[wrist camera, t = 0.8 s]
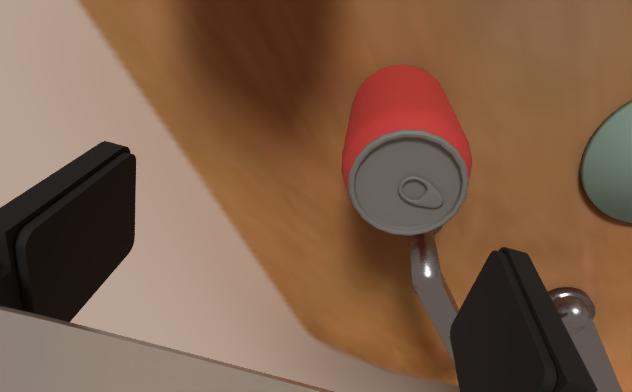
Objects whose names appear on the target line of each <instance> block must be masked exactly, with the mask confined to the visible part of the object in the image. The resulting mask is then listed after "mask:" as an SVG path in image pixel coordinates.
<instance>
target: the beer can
mask: <svg viewBox="0 0 632 392" xmlns="http://www.w3.org/2000/svg"><path fill="white" fill-rule="evenodd" d="M471 167H472V158H471V153H470V147H469V142H468V140H467V138H466V136H465V134H464V132H463V130H462V128H461V126H460V123H459V121H458V119H457V117H456V115H455V113H454V111H453V109H452V107H451V105H450V103H449V100H448V98H447V96H446V94H445V92H444V91H443V89H442V87H441V86H440V84H439V82H438V81H437V80H436V79H435V78H434V77H433V76H431V75H430V74H429V73H428V72H427V71H425V70H422V69H419V68H416V67H414V66H406V65H394V66H391V67H388V68H384V69H381V70H379V71H378V72H376V73H375V74H373V75H372V76H370V77H369V78H367V79H366V81H365V82H364V83H363V84H362V86H361V87H360V88H359V89H358V91H357V94H356V96H355V99H354V102H353V104H352V109H351V114H350V119H349V124H348V129H347V133H346V138H345V143H344V148H343V153H342V176H343V179H344V182H345V185H346V188H347V191H348V194H349V196H350V198H351V201H352V204H353V207H354V208H355V209H356V211H357V212H358V213H359V215H360V216H361V217H362V219H363V220H365V221H366V222H368V223H369V224H370V225H372V226H373V227H375V228H376V229H378V230H381V231H384V232H387V233H390V234H393V235H406V236H412V235H417V234H423V233H428V232H430V231H432V230H434V229H436V228H438V227H441V226H443V225H444V224H446V223H447V222H448V221H449V220H450V219H451V218H452V217H453V216H454V215H456V214H457V213H458V211H459V209H460V207H461V206H462V204H463V202H464V201H465V199H466V195H467V190H468V185H469V178H470V173H471Z"/></svg>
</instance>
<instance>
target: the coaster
mask: <svg viewBox="0 0 632 392" xmlns="http://www.w3.org/2000/svg"><path fill="white" fill-rule="evenodd" d="M580 175H581V182H582V185H583V188H584V190H585V192H586V194H587V196H588V197H589V199H590V200H591V201H592V202H593V203H594V205H595V206H596V207H597V208H599V209H600V210H601V211H602V212H604V213H605V214H607V215H609V216H611V217H612V218H615V219H618V220H621V221H624V222H629V223H632V100H631V101H630V102H628V103H626V104H625V105H623V106H622V107H620V108H619V109H617V110H616V111H615V112H614V113H612V114H611V115H610V116H609V117H608V118H607V119H606V120H605V121H603V123H602V124H601V125H600V126H599V127H598V128H597V129H596V131H595V132H594V134H593V135H592V137H591V138H590V140H589V142H588V144H587V146H586V148H585V150H584V153H583V156H582V160H581V168H580Z"/></svg>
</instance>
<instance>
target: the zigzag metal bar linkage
mask: <svg viewBox="0 0 632 392" xmlns="http://www.w3.org/2000/svg"><path fill="white" fill-rule="evenodd" d="M441 227H442V226H441ZM441 227H438V228H436V229H434V230H432V231H430V232H428V233H423V234H417V235H412V236H408V242H409V252H410V263H411V273H412V284H413V289H414V290H415V292H416V293H418V295H419V297H420V299H421V301H422V303H423V305H424V307H425V309H426V310H427V312H428V314H429V316H430V318H431V320H432V322H433V324H434V326H435V328H436V330H437V332H438V334H439V335H440V337H441V339H442V341H443V343H444V345H445V347H446V349H447V351H448V353H449V355H450V357H451V359H452V360H453V362H454V356H453V351H452V346H451V341H450V329H451V325H452V323H453V321H454V319H455V318H456V316H457V314H458V312H459V309H458V306H457V304H456V302H455V300H454V298H453V296H452V294H451V292H450V290H449V288H448V286H447V284H446V281H445V279H444V277H443V275H442V273H441V270H440V265H439V259H438V254H437V249H436V244H435V238H434V233H435V232H437V231H438V230H439V229H440V228H441ZM405 236H406V235H405ZM548 294H549V296H550V298H551V300H552V302H553V304H554V306H555V308H556V310H557V312H558V314H559V315H560V317H561V319H562V321H563V323H564V325H565V327H566V329H567V331H568V333H569V335H570V337H571V339H572V341H573V343H574V345H575V347H576V349H577V350H578V352H579V354H580V356H581V358H582V360H583V362H584V364H585V366H586V368H587V370H588V372H589V374H590V376H591V378H592V380H593V382H594V384H595V386H596V387H597V389H598V391H597V392H623V391H622V389H621V388H620V385H619V383H618V380H617V378H616V376H615V373H614V371H613V368H612V366H611V363H610V361H609V359H608V356H607V354H606V351H605V349H604V347H603V344H602V342H601V339H600V337H599V334H598V332H597V330H596V327H595V325H594V322H593V318H594V315H595V307H594V305H593V303H592V301H591V300H590V298H589V296H588V295H587V294H586V293H585V292H583V291H581V290H579V289H576V288H570V287H564V288H557V289H554V290H551V291H549V292H548ZM454 364H455V362H454Z"/></svg>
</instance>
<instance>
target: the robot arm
mask: <svg viewBox="0 0 632 392" xmlns="http://www.w3.org/2000/svg"><path fill="white" fill-rule="evenodd" d="M135 184H136V158H135V155H133V154H130V150H129V148H128V147H125V146H121V145H118V144H114V143H110V142H106V141H104V142H102V143H100V144H98V145H97V146H95V147H93V148H92V149H90V150H89V151H87V152H86V153H84V154H83V155H81V156H80V157H78V158H77V159H75V160H73V161H72V162H70V163H69V164H67V165H66V166H64V167H63V168H61V169H60V170H58V171H57V172H55V173H53V174H52V175H50V176H49V177H47V178H46V179H44V180H43V181H41V182H40V183H38V184H36V185H35V186H33V187H32V188H30V189H29V190H27V191H26V192H24V193H23V194H21V195H20V196H18V197H16V198H15V199H13V200H12V201H10V202H9V203H7V204H6V205H4V206H2V207H1V208H0V392H333V391H329V390H325V389H322V388H318V387H314V386H311V385H307V384H303V383H300V382H295V381H292V380H288V379H285V378H281V377H277V376H273V375H269V374H266V373H262V372H258V371H254V370H251V369H247V368H243V367H239V366H236V365H232V364H228V363H224V362H220V361H217V360H213V359H209V358H205V357H202V356H198V355H194V354H190V353H186V352H182V351H179V350H175V349H171V348H167V347H163V346H159V345H155V344H151V343H148V342H144V341H140V340H136V339H132V338H129V337H124V336H121V335H117V334H113V333H109V332H105V331H102V330H98V329H94V328H90V327H86V326H82V325H78V324H74V323H70V321H71V320H72V319H73V317H74V316H75V315H76V314H77V313H78V312H79V310H80V309H81V308H82V307H83V306H84V305H85V304H86V302H87V301H88V300H89V299H90V298H91V297H92V295H93V294H94V293H95V292H96V291H97V290H98V288H99V287H100V286H101V285H102V284H103V283H104V282H105V280H106V279H107V278H108V277H109V276H110V274H111V273H112V272H113V271H114V270H115V269H116V268H117V266H118V265H119V264H120V263H121V262H122V261H123V259H124V258H125V257H126V256H127V255H128V254H129V252H130V250H131V249H132V247H133V244H134V236H135V231H134V230H135V186H136V185H135ZM450 341H451V346H452V351H453V356H454V362H455V367H456V372H457V377H458V382H459V388H460V392H597V391H598V389H597V387H596V386H595V384H594V382H593V380H592V378H591V376H590V374H589V372H588V370H587V368H586V366H585V364H584V362H583V360H582V358H581V356H580V354H579V352H578V350H577V349H576V347H575V345H574V343H573V341H572V339H571V337H570V335H569V333H568V331H567V329H566V327H565V325H564V323H563V321H562V319H561V317H560V315H559V314H558V312H557V310H556V308H555V306H554V304H553V302H552V300H551V298H550V296H549V294H548V292H547V290H546V288H545V286H544V284H543V282H542V280H541V279H540V277H539V275H538V273H537V271H536V269H535V267H534V265H533V263H532V261H531V259H530V257H529V255H528V254H527V253H524V252H521V251H517V250H513V249H509V248H506V247H503V248H501V249H500V250H499V251H492V252H491V254H490V255H489V257H488V259H487V261H486V262H485V264H484V266H483V268H482V270H481V272H480V273H479V275H478V277H477V279H476V281H475V283H474V284H473V286H472V288H471V290H470V292H469V294H468V295H467V297H466V299H465V301H464V303H463V305H462V307H461V308H460V310H459V312H458V314H457V316H456V318H455V319H454V321H453V323H452V325H451V329H450Z"/></svg>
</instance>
